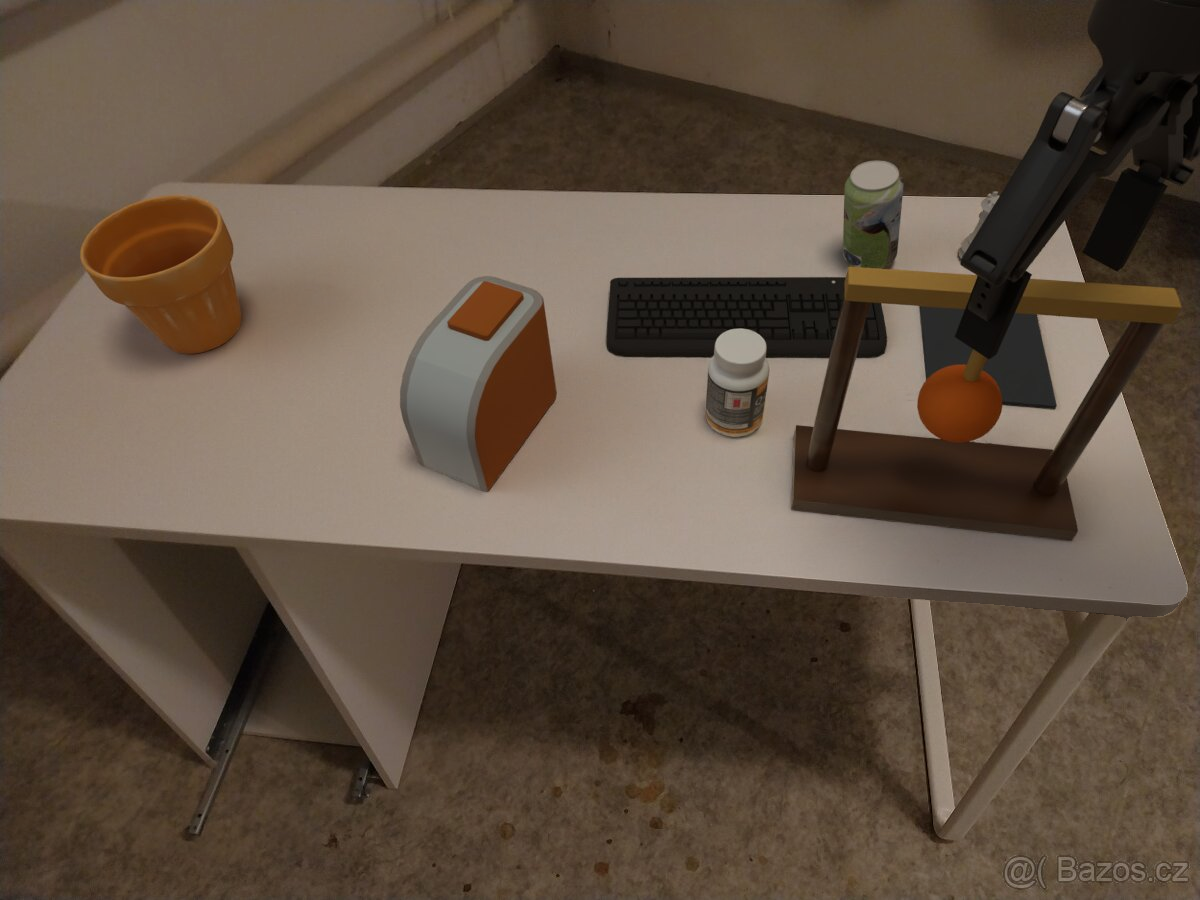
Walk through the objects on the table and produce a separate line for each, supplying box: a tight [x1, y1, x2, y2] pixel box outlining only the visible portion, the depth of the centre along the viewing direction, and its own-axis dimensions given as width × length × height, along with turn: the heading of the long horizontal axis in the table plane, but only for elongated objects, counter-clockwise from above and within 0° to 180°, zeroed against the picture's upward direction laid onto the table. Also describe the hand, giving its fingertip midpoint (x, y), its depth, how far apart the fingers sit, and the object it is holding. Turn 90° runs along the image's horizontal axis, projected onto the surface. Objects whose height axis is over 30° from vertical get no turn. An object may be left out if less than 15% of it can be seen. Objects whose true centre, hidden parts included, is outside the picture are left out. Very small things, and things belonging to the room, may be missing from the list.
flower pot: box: [79, 194, 242, 355], centre depth 91 cm, size 14×14×13 cm
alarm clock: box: [399, 275, 558, 493], centre depth 79 cm, size 15×8×14 cm, turn 152°
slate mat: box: [919, 306, 1058, 410], centre depth 88 cm, size 18×12×1 cm, turn 170°
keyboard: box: [606, 276, 888, 359], centre depth 91 cm, size 30×11×2 cm, turn 86°
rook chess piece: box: [958, 191, 1000, 260], centre depth 93 cm, size 4×4×8 cm
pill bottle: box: [705, 329, 770, 438], centre depth 79 cm, size 6×6×10 cm
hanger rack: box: [790, 291, 1165, 542], centre depth 68 cm, size 9×24×22 cm, turn 80°
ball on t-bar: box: [845, 266, 1183, 443], centre depth 65 cm, size 6×22×16 cm, turn 80°
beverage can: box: [842, 159, 905, 269], centre depth 92 cm, size 6×7×12 cm
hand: (1041, 301), depth 56 cm, fingers open, 13 cm apart
